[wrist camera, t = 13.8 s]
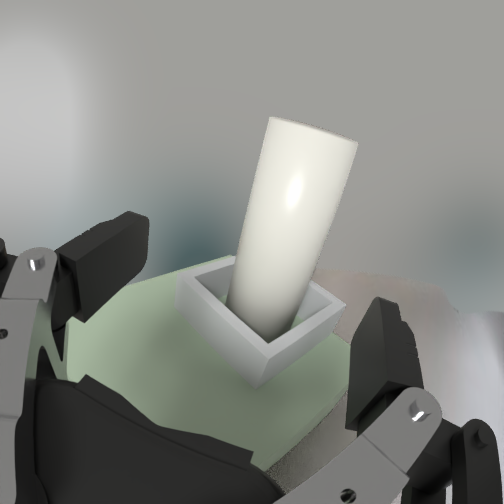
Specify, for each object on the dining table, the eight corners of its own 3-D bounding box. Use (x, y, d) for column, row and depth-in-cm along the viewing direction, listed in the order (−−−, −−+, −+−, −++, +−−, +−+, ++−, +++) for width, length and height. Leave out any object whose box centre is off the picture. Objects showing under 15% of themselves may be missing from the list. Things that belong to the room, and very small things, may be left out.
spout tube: (301, 330, 23) (372, 147, 16) (255, 359, 19) (329, 138, 12) (255, 294, 25) (304, 122, 18) (208, 314, 22) (250, 112, 15)
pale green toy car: (337, 403, 26) (395, 322, 21) (151, 546, 11) (131, 537, 6) (228, 310, 35) (249, 224, 29) (49, 382, 20) (13, 282, 15)
